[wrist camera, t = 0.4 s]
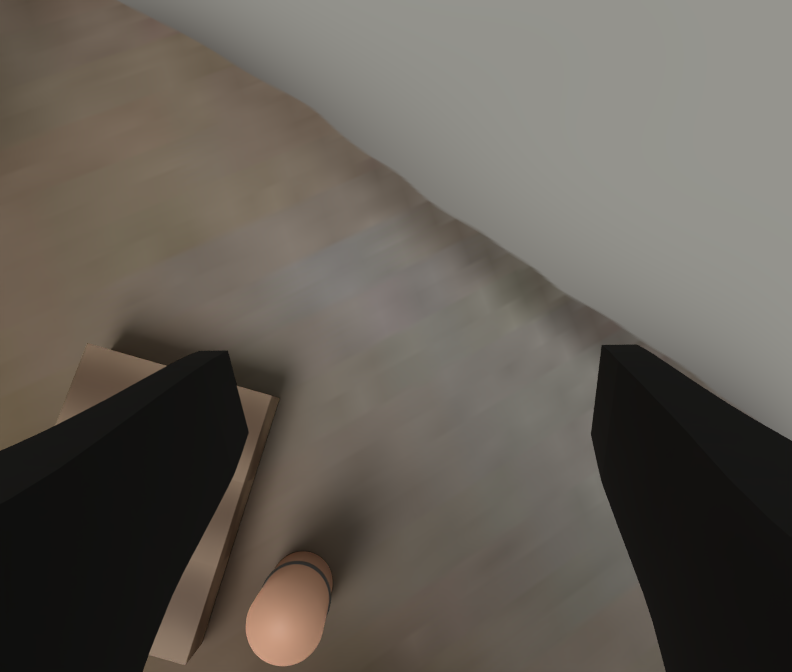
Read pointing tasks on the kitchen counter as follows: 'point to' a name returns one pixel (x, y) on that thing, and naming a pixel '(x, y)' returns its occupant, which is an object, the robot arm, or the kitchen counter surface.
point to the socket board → (205, 570)
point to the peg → (290, 610)
